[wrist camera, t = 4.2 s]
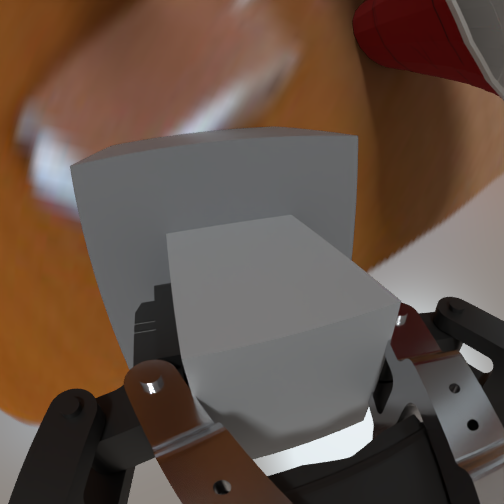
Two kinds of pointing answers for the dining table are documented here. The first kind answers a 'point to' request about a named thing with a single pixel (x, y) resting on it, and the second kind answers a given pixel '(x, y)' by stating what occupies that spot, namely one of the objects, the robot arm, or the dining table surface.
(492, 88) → the plastic cup
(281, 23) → the dining table surface
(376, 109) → the dining table surface
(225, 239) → the grey stepped block
